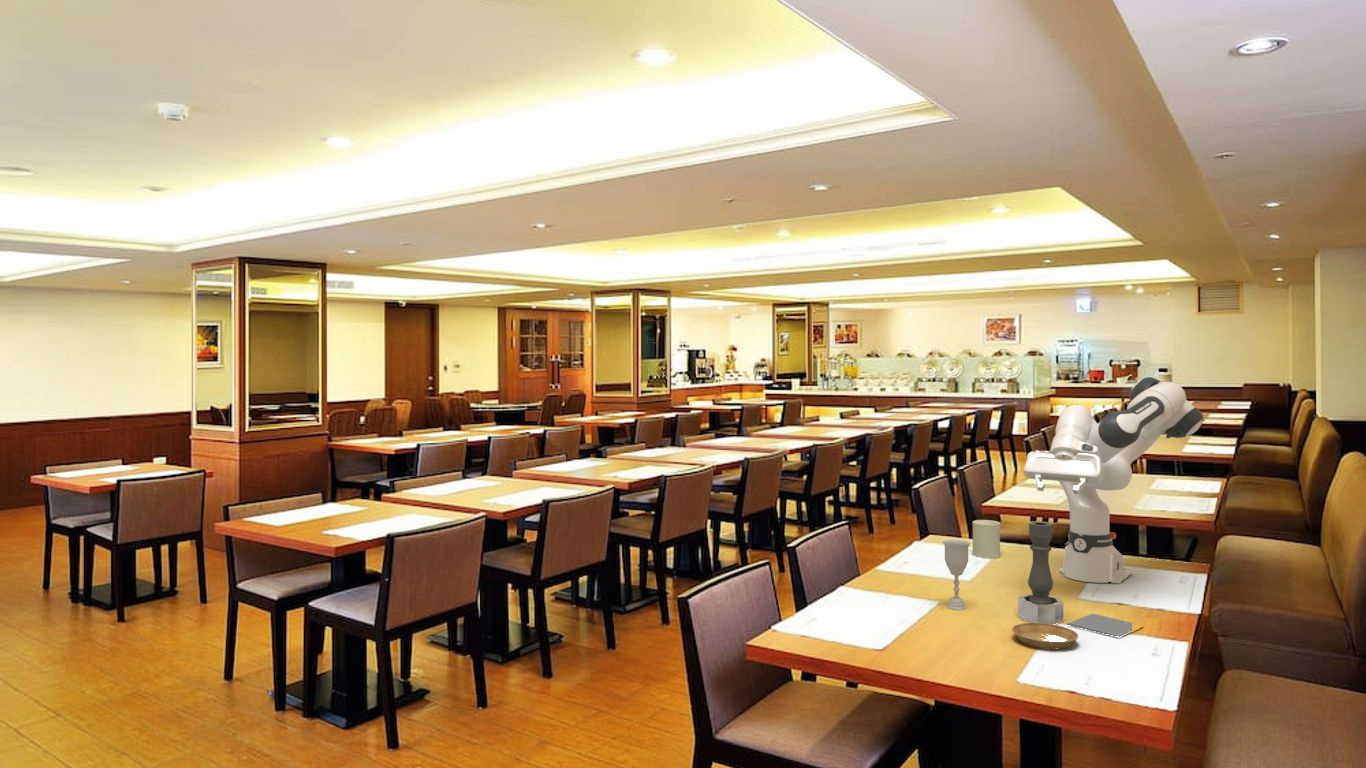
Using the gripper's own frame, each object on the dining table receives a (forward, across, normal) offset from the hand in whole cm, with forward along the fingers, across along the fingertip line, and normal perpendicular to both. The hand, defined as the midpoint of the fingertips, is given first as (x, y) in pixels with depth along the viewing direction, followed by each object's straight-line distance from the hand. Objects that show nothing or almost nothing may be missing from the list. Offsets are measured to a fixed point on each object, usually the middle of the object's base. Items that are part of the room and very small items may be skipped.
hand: (1057, 491), depth 233 cm
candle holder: (+34, 0, +11) cm, 35 cm away
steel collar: (+33, 0, +11) cm, 35 cm away
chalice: (+36, -22, +10) cm, 43 cm away
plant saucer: (+46, +5, -1) cm, 47 cm away
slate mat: (+32, +15, +13) cm, 37 cm away
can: (-10, -35, +56) cm, 67 cm away
